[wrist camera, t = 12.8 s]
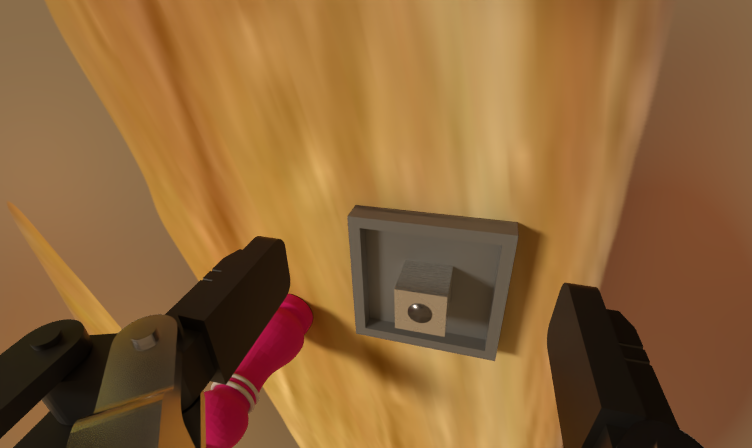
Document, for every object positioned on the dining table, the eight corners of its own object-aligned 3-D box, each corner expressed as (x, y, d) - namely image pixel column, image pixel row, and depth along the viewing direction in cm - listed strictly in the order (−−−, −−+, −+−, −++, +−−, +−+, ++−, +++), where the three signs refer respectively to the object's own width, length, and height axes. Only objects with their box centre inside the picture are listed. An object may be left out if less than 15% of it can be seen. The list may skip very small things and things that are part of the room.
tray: (362, 319, 47) (356, 333, 45) (355, 205, 39) (347, 216, 37) (495, 343, 43) (494, 361, 41) (517, 222, 35) (518, 235, 33)
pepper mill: (258, 305, 51) (141, 447, 34) (286, 280, 47) (169, 428, 31) (297, 338, 52) (202, 492, 36) (327, 317, 48) (236, 478, 32)
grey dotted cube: (405, 296, 42) (394, 328, 38) (405, 259, 39) (394, 289, 35) (450, 303, 41) (444, 337, 36) (453, 265, 38) (447, 297, 34)
